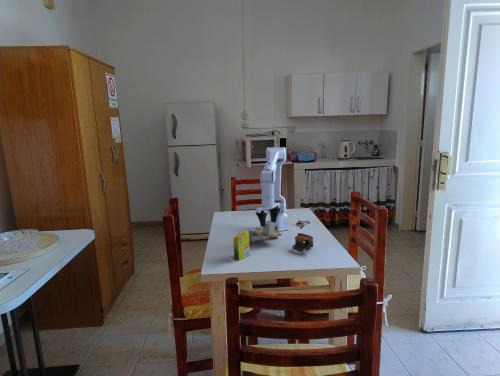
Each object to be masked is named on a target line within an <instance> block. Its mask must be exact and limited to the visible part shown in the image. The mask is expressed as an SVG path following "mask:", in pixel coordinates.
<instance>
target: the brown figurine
mask: <svg viewBox="0 0 500 376" xmlns="http://www.w3.org/2000/svg"><path fill="white" fill-rule="evenodd" d="M294 240H295V242H294V244H292V251H297V252H300V253H304V250H305V251H306V252H308V251H310V250H311V248H314V237H313V236H312V235H309V234H305V233H300V232H298V233H297V235H296V236H295V237H294Z"/></svg>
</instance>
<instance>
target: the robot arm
mask: <svg viewBox="0 0 500 376" xmlns="http://www.w3.org/2000/svg"><path fill="white" fill-rule="evenodd" d="M265 158H266V160H267V161H266V162H265V163H264V167H263V170H262V171H260V173H259V182H260V188H261V204H260V206H258V207H256V208H255V215H256V216H257V218H258V221H259V225H260V227H265V224H266V221H267V217H268V216H267V215H268V214H269V221H271V222H275V225H276V226H278V232H282V231H287V230H290V228H289V216H288V213H286V210H287V203H286V198H285V197H284V196H283V195H281V194H282V193H281V192H282V168H283V167H282V166H283V165H285V164H286V161H287V160H286V159H287V149H286V147H284V146H283V147H267V148H266V149H265ZM265 211H266V212H265Z"/></svg>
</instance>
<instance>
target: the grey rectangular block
mask: <svg viewBox="0 0 500 376" xmlns="http://www.w3.org/2000/svg"><path fill="white" fill-rule="evenodd" d="M263 234H265V235H268V236H270V235H273V234H275V222H271V221H270V220H266V224H265V227H263Z"/></svg>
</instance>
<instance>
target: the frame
mask: <svg viewBox="0 0 500 376" xmlns="http://www.w3.org/2000/svg"><path fill="white" fill-rule="evenodd" d="M275 231H277V232H279V231H278V226H276V225H275ZM269 239H271V238H268V239H262V238H260V237H259V236H256V237H252V231H250V230H249V246H252V245H253V243H256V242H260V241H265V240H269ZM272 239H275V240H278V239H279V236H278V237H273V238H272Z"/></svg>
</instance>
